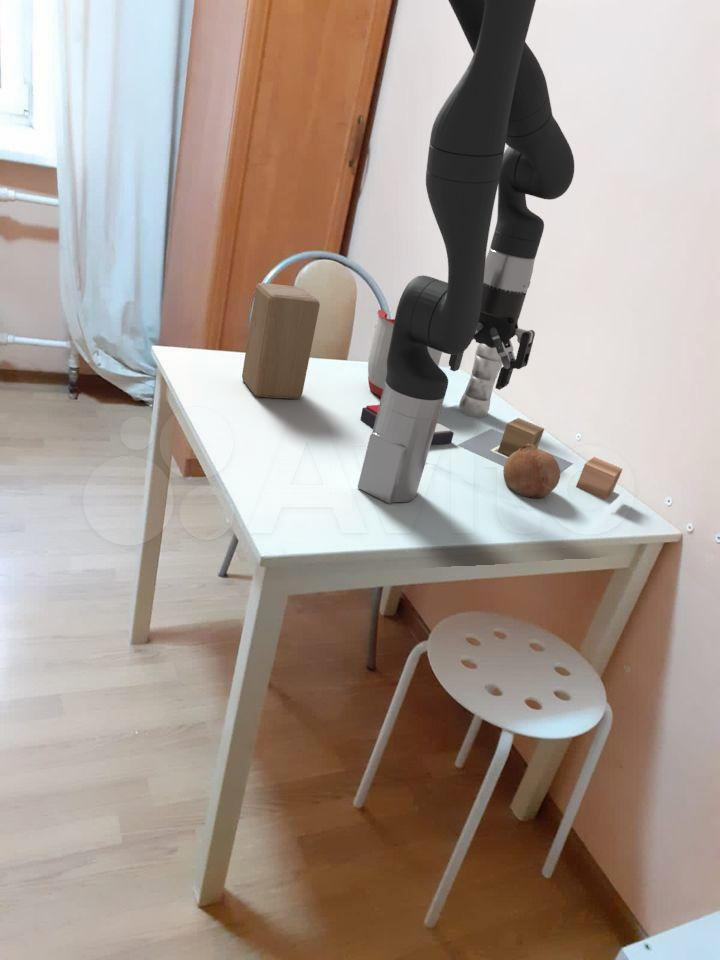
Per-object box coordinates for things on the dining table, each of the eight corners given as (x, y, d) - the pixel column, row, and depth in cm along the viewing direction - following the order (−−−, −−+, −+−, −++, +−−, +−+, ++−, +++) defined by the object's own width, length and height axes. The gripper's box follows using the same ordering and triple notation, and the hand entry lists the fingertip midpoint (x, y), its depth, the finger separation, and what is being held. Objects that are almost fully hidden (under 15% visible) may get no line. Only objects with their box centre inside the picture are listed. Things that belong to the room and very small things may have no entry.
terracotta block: (602, 505, 128) (614, 476, 126) (573, 492, 131) (585, 463, 128) (610, 497, 133) (622, 468, 130) (582, 485, 135) (594, 456, 132)
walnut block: (523, 463, 135) (533, 434, 132) (497, 451, 137) (507, 423, 134) (534, 456, 139) (544, 428, 136) (508, 445, 141) (518, 417, 139)
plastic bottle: (452, 415, 154) (479, 324, 145) (462, 408, 160) (489, 320, 151) (479, 425, 152) (508, 334, 143) (489, 418, 157) (517, 330, 149)
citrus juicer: (392, 377, 169) (414, 293, 160) (443, 406, 158) (469, 318, 149) (341, 379, 159) (360, 289, 150) (391, 411, 148) (415, 316, 139)
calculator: (404, 401, 145) (455, 429, 135) (400, 421, 147) (450, 450, 136) (362, 403, 138) (412, 433, 128) (358, 424, 140) (407, 455, 130)
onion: (499, 500, 128) (495, 444, 127) (551, 495, 128) (547, 439, 127) (514, 507, 118) (510, 447, 117) (569, 502, 119) (566, 441, 118)
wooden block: (239, 379, 145) (255, 280, 136) (286, 381, 149) (303, 286, 141) (254, 398, 137) (271, 295, 128) (302, 401, 142) (322, 301, 133)
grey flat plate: (542, 490, 128) (544, 483, 128) (455, 450, 136) (457, 444, 135) (570, 468, 141) (573, 462, 140) (490, 433, 149) (491, 428, 148)
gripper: (453, 271, 111) (429, 368, 119) (537, 298, 105) (505, 399, 113) (474, 267, 117) (450, 360, 125) (555, 293, 111) (524, 389, 119)
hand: (476, 379), depth 119 cm, fingers open, 8 cm apart
